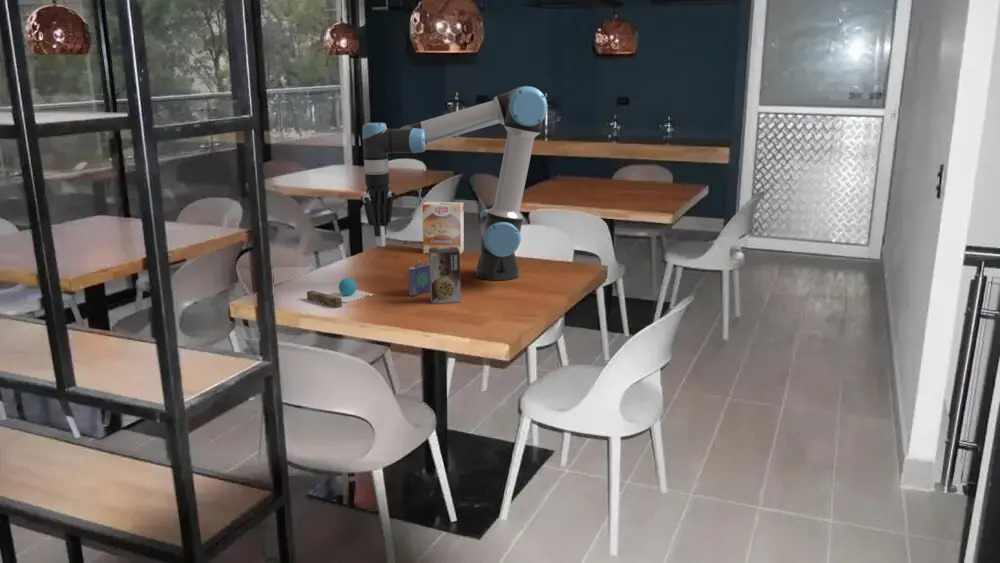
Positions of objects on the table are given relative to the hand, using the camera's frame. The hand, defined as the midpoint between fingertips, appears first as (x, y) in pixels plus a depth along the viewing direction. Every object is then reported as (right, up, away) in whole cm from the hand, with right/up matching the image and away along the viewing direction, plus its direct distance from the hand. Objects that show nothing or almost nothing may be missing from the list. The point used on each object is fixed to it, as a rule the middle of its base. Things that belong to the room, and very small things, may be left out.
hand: (381, 245), depth 263 cm
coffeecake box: (+16, 0, +55) cm, 58 cm away
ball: (-9, -13, -7) cm, 18 cm away
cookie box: (+21, -18, -12) cm, 30 cm away
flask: (+13, -15, -4) cm, 21 cm away
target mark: (-10, -16, -7) cm, 20 cm away
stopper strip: (-15, -18, -15) cm, 28 cm away
